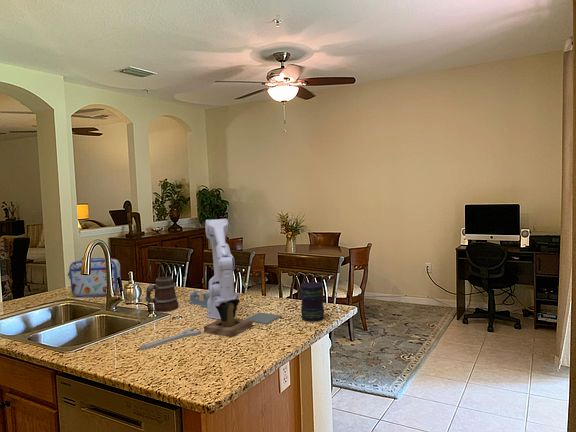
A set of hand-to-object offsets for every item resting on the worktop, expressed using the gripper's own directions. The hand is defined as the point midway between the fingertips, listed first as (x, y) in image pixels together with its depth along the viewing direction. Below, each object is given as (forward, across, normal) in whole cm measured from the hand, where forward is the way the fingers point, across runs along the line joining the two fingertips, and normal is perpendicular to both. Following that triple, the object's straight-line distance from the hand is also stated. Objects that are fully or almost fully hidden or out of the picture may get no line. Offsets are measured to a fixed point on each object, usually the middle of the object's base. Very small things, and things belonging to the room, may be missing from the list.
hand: (228, 318), depth 175 cm
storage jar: (+5, +27, -25) cm, 37 cm away
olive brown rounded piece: (+4, 0, 0) cm, 5 cm away
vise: (+5, +28, +38) cm, 47 cm away
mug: (+5, +11, +49) cm, 50 cm away
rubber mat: (+4, +18, -5) cm, 19 cm away
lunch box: (+5, +17, +107) cm, 108 cm away
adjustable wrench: (+5, -19, +14) cm, 24 cm away
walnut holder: (+4, 0, 0) cm, 4 cm away
